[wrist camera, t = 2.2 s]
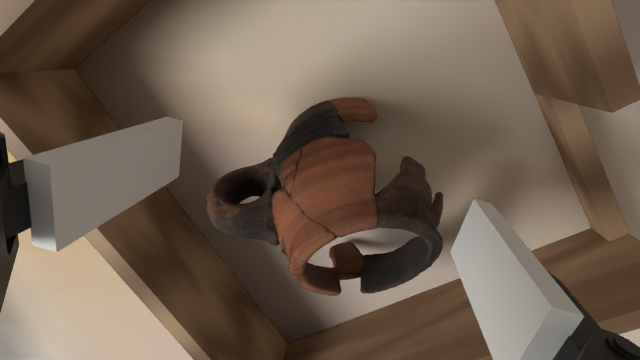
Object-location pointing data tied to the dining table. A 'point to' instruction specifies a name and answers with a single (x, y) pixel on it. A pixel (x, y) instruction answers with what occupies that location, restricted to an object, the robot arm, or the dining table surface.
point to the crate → (213, 274)
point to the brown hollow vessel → (331, 203)
